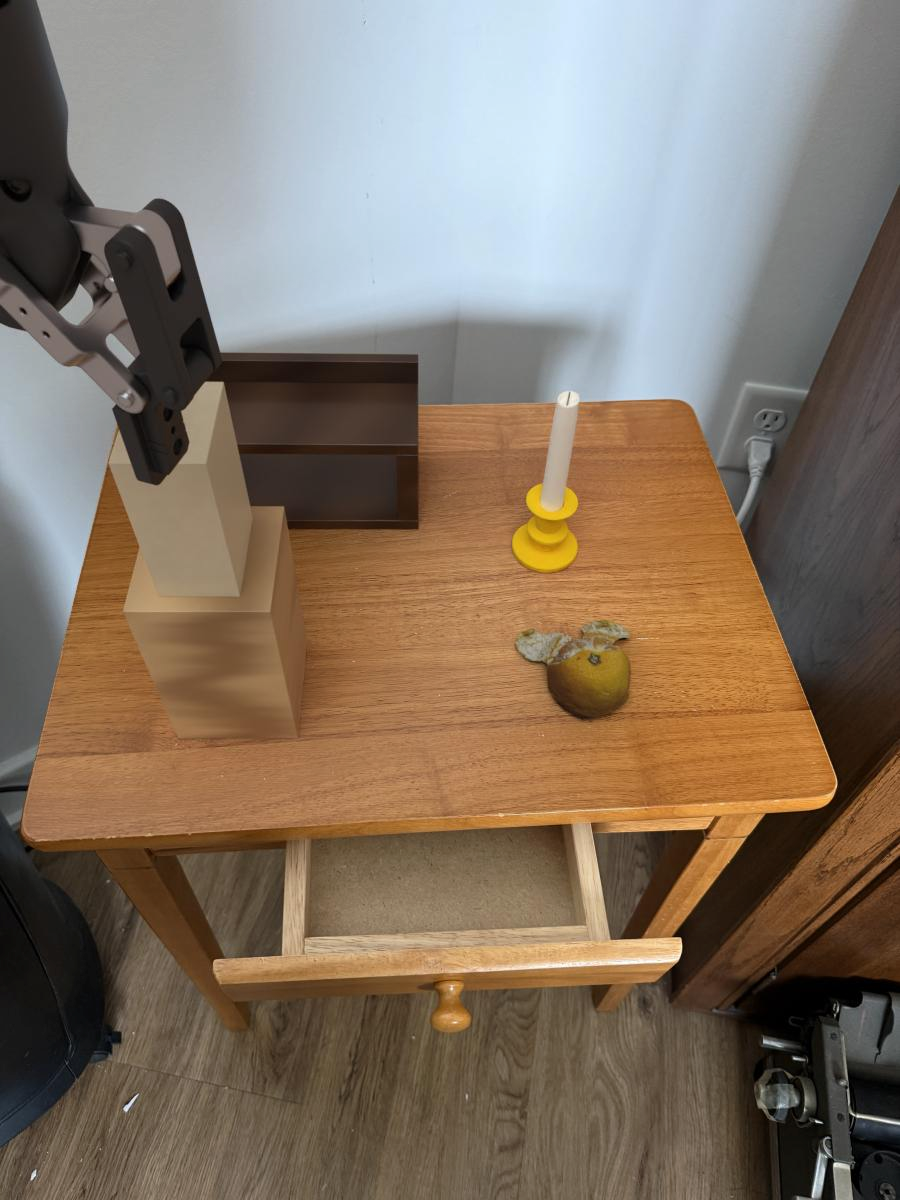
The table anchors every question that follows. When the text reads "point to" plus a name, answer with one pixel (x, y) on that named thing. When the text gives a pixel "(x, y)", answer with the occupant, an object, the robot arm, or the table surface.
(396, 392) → the shelf
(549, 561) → the candle
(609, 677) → the fruit
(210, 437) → the snack box
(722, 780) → the table surface
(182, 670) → the block
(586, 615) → the table surface
